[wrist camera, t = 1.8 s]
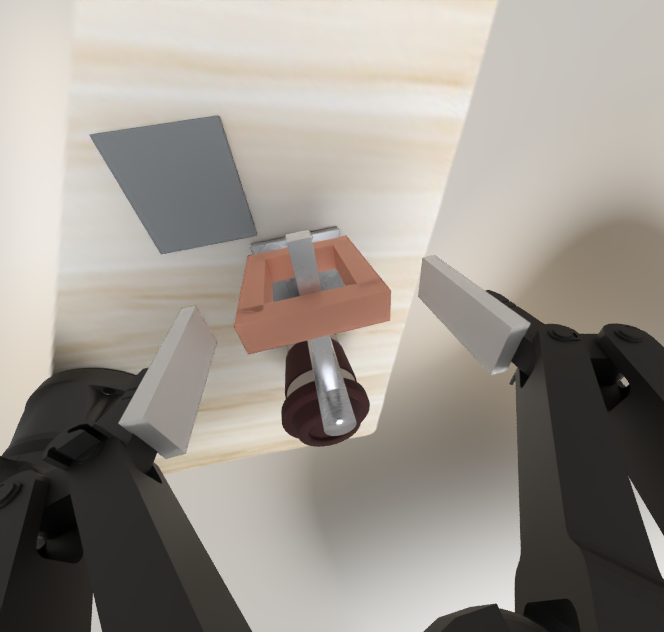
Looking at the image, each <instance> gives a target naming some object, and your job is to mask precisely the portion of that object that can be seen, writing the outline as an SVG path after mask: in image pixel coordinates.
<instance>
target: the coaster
mask: <svg viewBox="0 0 664 632" xmlns="http://www.w3.org/2000/svg"><path fill="white" fill-rule="evenodd" d="M90 137H91V139H92V140H93V142H94V144H95V145H96V147H97V149H98V150H99V152H100V154H101V155H102V157H103V159H104V160H105V162H106V164H107V165H108V167H109V169H110V170H111V172H112V174H113V175H114V177H115V179H116V180H117V182H118V184H119V185H120V187H121V189H122V190H123V192H124V194H125V195H126V197H127V199H128V200H129V202H130V204H131V205H132V207H133V209H134V210H135V212H136V214H137V215H138V217H139V219H140V220H141V222H142V224H143V225H144V227H145V229H146V230H147V232H148V234H149V235H150V237H151V239H152V240H153V242H154V243H155V245H156V247H157V248H158V250H159V252H160V253H161V254H166V253H171V252H176V251H181V250H186V249H191V248H196V247H201V246H206V245H211V244H217V243H222V242H227V241H232V240H237V239H242V238H247V237H252V236H257V232H256V229H255V226H254V223H253V220H252V216H251V213H250V210H249V207H248V204H247V201H246V198H245V195H244V192H243V188H242V185H241V182H240V179H239V176H238V173H237V170H236V167H235V164H234V160H233V157H232V154H231V151H230V148H229V145H228V142H227V139H226V136H225V132H224V129H223V126H222V123H221V120H220V117H219V116H212V117H205V118H198V119H192V120H185V121H178V122H172V123H165V124H158V125H151V126H145V127H138V128H131V129H125V130H118V131H111V132H105V133H98V134H91V135H90Z"/></svg>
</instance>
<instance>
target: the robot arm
mask: <svg viewBox="0 0 664 632" xmlns="http://www.w3.org/2000/svg"><path fill="white" fill-rule="evenodd" d="M418 297H419V298H420V299H421V300H422V301H423V302H424V303H425V305H426V306H427V307H428V308H429V309H430V310H431V311H432V312H433V313H434V314H435V315H436V316H437V318H438V319H439V320H440V321H441V322H442V323H443V324H444V325H445V326H446V327H447V328H448V329H449V330H450V332H451V333H452V334H453V335H454V336H455V337H456V338H457V339H458V340H459V341H460V342H461V343H462V345H463V346H464V347H465V348H466V349H467V350H468V351H469V352H470V353H471V354H472V355H473V357H474V358H475V359H476V360H477V361H478V362H479V363H480V364H481V365H482V366H483V367H484V368H485V369H486V371H487V372H488V373H489V374H490V375H493V374H497V373H501V372H505V371H507V369H508V367H509V365H510V363H511V362H513V363H514V364H515V365H516V366H517V367H518V368H517V370H516V372H515V373H514V375H513V377H512V379H511V381H510V384H511V385H513V383H514V381H516V411H517V443H518V473H519V507H520V539H521V556H520V561H519V564H518V567H517V570H516V576H515V612H511V611H508V610H504V609H499V608H498V605H497V604H490V605H482V606H475V607H469V608H466V609H463V610H460V611H457V612H454V613H451V614H448V615H445V616H442V617H439V618H438V619H437V620H435V621H434V622H433V623H432V624H431V625H430V626H429V627H428V628H427V629H426V630H425V631H424V632H664V579H663V578H662V576H661V573H660V571H659V569H658V566H657V563H656V560H655V557H654V554H653V551H652V548H651V545H650V542H649V538H648V536H647V532H646V529H645V526H644V524H643V520H642V517H641V514H640V511H639V508H638V505H637V502H636V498H635V495H634V492H633V489H632V486H631V483H630V480H629V478H630V479H631V481H632V483H633V484H634V486H635V488H636V490H637V491H638V493H639V495H640V496H641V498H642V500H643V501H644V503H645V505H646V507H647V508H648V510H649V512H650V513H651V515H652V517H653V518H654V520H655V522H656V523H657V525H658V527H659V528H660V530H661V532H662V533H663V535H664V347H663V346H662V345H661V344H660V343H659V342H658V341H657V340H655V339H654V338H653V337H652V336H650V335H649V334H648V333H646V332H645V331H642V330H640V329H638V328H636V327H633V326H629V325H624V324H608V325H605V326H604V327H603V328H602V329H601V331H600V332H599V333H598V334H579V333H577V332H576V331H575V330H573V329H570V328H569V327H566V326H562V325H558V324H543V323H542V322H540V321H539V320H537V319H536V318H534V317H533V316H532V315H530V314H529V313H527V312H526V311H524V310H523V309H521V308H519V307H517V306H516V305H515V304H514V303H512V302H509V300H508V299H507V298H505V297H504V296H502V295H501V294H498V293H496V292H493V291H490V290H486V291H485V290H483V289H482V288H480V287H479V286H477V285H476V284H475V283H473V282H472V281H471V280H469V279H468V278H466V277H465V276H464V275H462V274H461V273H459V272H458V271H456V270H455V269H454V268H452V267H451V266H449V265H448V264H447V263H445V262H444V261H442V260H441V259H440V258H438V257H437V256H435V255H433V256H428V257H423V259H422V267H421V276H420V285H419V293H418ZM216 344H217V340H216V339H215V337H214V335H213V334H212V332H211V330H210V329H209V327H208V325H207V323H206V322H205V320H204V318H203V317H202V315H201V313H200V312H199V310H198V308H197V306H196V305H195V306H191V307H186V308H181V310H180V312H179V314H178V316H177V318H176V319H175V321H174V323H173V325H172V327H171V329H170V330H169V332H168V334H167V336H166V338H165V339H164V341H163V343H162V345H161V347H160V349H159V350H158V352H157V354H156V356H155V358H154V359H153V361H152V363H151V365H150V367H149V368H145V369H143V370H142V371H141V372H140V373H139V374H138V375H137V376H133V375H130V374H127V373H123V372H119V371H114V370H107V369H76V370H70V371H66V372H62V373H59V374H56V375H54V376H52V377H50V378H48V379H47V380H46V381H44V382H43V383H42V384H41V385H40V386H39V387H38V389H37V390H36V391H35V392H34V393H33V394H32V395H31V396H30V398H29V399H28V401H27V403H26V406H25V411H24V413H23V415H22V417H21V419H20V422H19V424H18V426H17V429H16V431H15V434H14V436H13V439H12V441H11V444H10V446H9V447H8V448H7V450H6V451H5V452H4V453H3V455H2V456H0V632H91V617H92V600H93V599H92V598H93V594H94V598H95V603H96V607H97V611H98V615H99V619H100V624H101V628H102V632H252V631H251V629H250V627H249V626H248V623H247V622H246V620H245V618H244V616H243V615H242V613H241V611H240V609H239V608H238V606H237V604H236V602H235V601H234V599H233V597H232V595H231V593H230V592H229V590H228V588H227V586H226V585H225V583H224V581H223V579H222V578H221V576H220V574H219V573H218V571H217V569H216V567H215V565H214V564H213V562H212V560H211V558H210V557H209V555H208V553H207V551H206V550H205V548H204V546H203V544H202V542H201V541H200V539H199V538H198V536H197V534H196V532H195V530H194V528H193V527H192V525H191V523H190V521H189V520H188V518H187V516H186V514H185V513H184V511H183V509H182V507H181V506H180V504H179V502H178V500H177V498H176V497H175V495H174V493H173V491H172V490H171V488H170V486H169V485H168V483H167V481H166V479H165V477H164V476H163V474H162V472H161V470H160V469H159V467H158V466H157V465H156V464H155V463H154V460H155V457H156V454H157V453H159V454H160V455H161V456H163V457H164V458H165V459H167V458H171V457H175V456H179V455H183V454H186V451H187V447H188V444H189V440H190V436H191V433H192V429H193V426H194V422H195V419H196V415H197V412H198V408H199V404H200V401H201V397H202V394H203V390H204V387H205V383H206V380H207V376H208V372H209V369H210V365H211V362H212V358H213V355H214V351H215V348H216ZM623 377H625V378H626V379H627V380H628V382H629V385H628V386H627V387H626V386H624V385H623V383H622V382H621V381H620V380H621V379H622V378H623ZM628 476H629V477H628Z"/></svg>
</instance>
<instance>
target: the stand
mask: <svg viewBox="0 0 664 632" xmlns="http://www.w3.org/2000/svg"><path fill="white" fill-rule="evenodd" d="M285 235H286V237H283V238H278V239H273V240H268V241H263V242H258V243H253V244H251V246H250V247H251V250H252V253H253V255H254V254H259V253H264V252H268V251H273V250H278V249H283V248H288V250H289V254H290V258H291V262H292V266H293V270H294V274H295V278H291V279H287V280H282V281H277V282H273V302H275V301H280V300H285V299H289V298H294V297H298V296H303V295H307V294H312V293H316V292H321V291H325V290H330V289H334V288H339V287H343V286H345V284H344V283H343V281H342V279H341V277H340V275H339V273H338V271H337V269H333V270H329V271H324V272H319V273H318V268H317V263H316V257H315V252H314V246H313V242H318V241H323V240H328V239H333V238H338V237H339V229H338V228H337V227H334V228H329V229H324V230H319V231H314V232H309V230H305V231H300V232H294V233H289V234H285ZM307 341H308V347H309V352H310V357H311V363H312V368H313V373H314V379H315V384H316V389H317V395H318V400H319V405H320V411H321V416H322V421H323V427H324V432H325V433H326V434H327V435H330V436H339V435H343V434H346V433H348V432H350V431H351V430H353V429H354V428H355V426H356V424H357V422H356V419H355V416H354V413H353V409H352V406H351V403H350V400H349V396H348V393H347V390H346V387H345V383H344V380H343V377H342V374H341V370H340V367H339V364H338V361H337V357H336V354H335V351H334V348H333V344H332V341H331V338H330V335H328V336H324V337H319V338H315V339H311V340H307Z"/></svg>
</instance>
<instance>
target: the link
mask: <svg viewBox="0 0 664 632" xmlns="http://www.w3.org/2000/svg"><path fill="white" fill-rule="evenodd" d="M313 246H314V252H315V257H316V263H317V268H318V273H319V272H324V271H329V270H333V269H337V271H338V273H339V275H340V277H341V279H342V281H343V283H344V284H345V286H343V287H339V288H334V289H330V290H325V291H321V292H316V293H312V294H307V295H303V296H298V297H294V298H289V299H285V300H280V301H275V302H273V282H277V281H282V280H287V279H291V278H295V274H294V270H293V266H292V262H291V258H290V254H289V250H288V248H283V249H278V250H273V251H268V252H264V253H259V254H254V255H249V256H248V257H247V262H246V267H245V272H244V277H243V283H242V288H241V293H240V298H239V303H238V308H237V313H236V318H235V323H234V327H235V329H236V331H237V333H238V335H239V337H240V339H241V341H242V343H243V345H244V347H245V349H246V351H247V353H248V354H252V353H257V352H261V351H265V350H269V349H273V348H278V347H282V346H286V345H290V344H294V343H298V342H303V341H307V340H311V339H315V338H319V337H324V336H328V335H332V334H336V333H340V332H344V331H349V330H353V329H357V328H361V327H365V326H369V325H374V324H378V323H382V322H386V321H390V305H391V290H390V289H389V287H388V286H387V285H386V284H385V283H384V281H383V280H382V279H381V278H380V276H379V275H378V274H377V273H376V272H375V270H374V269H373V268H372V267H371V265H370V264H369V263H368V262H367V260H366V259H365V258H364V257H363V256H362V254H361V253H360V252H359V251H358V249H357V248H356V247H355V246H354V244H353V243H352V242H351V241H350V240H349V238H348V237H347V236H342V237H338V238H333V239H328V240H323V241H318V242H313Z"/></svg>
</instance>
